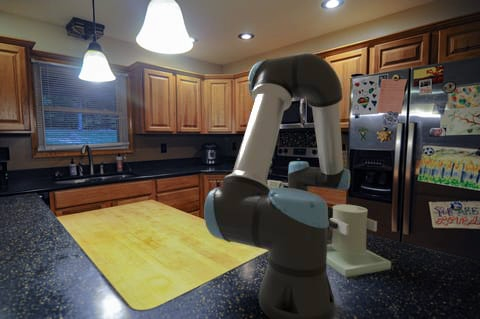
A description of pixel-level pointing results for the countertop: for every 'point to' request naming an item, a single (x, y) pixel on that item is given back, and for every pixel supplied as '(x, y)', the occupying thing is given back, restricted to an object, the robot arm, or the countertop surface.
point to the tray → (355, 262)
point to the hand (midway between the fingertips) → (361, 228)
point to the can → (350, 229)
